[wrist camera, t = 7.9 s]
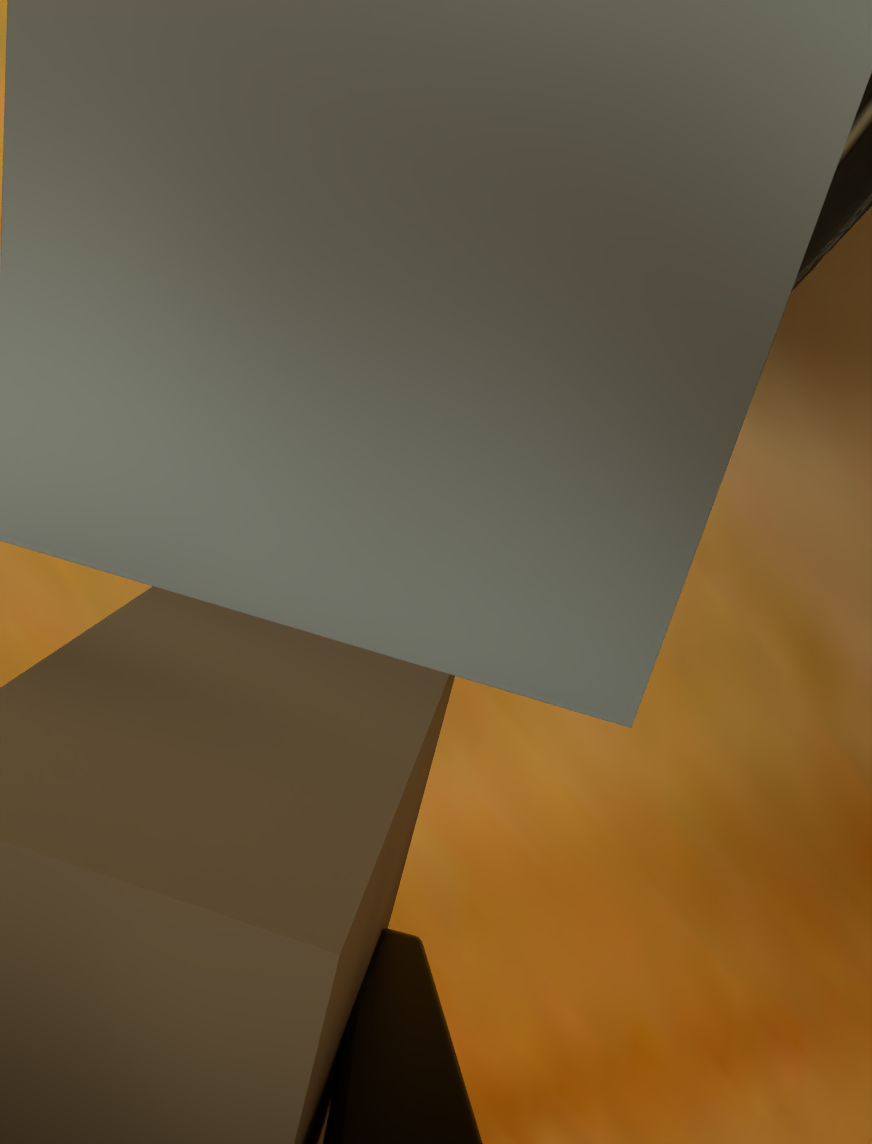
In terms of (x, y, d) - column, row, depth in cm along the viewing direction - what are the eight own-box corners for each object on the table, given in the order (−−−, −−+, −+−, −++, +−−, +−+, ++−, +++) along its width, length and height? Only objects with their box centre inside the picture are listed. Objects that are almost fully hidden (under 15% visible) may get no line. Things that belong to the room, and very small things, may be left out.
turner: (450, 1169, 10) (362, 1696, 6) (32, 1019, 10) (-281, 1421, 7) (913, -135, 5) (1673, -1159, 2) (111, -282, 6) (-764, -1301, 2)
